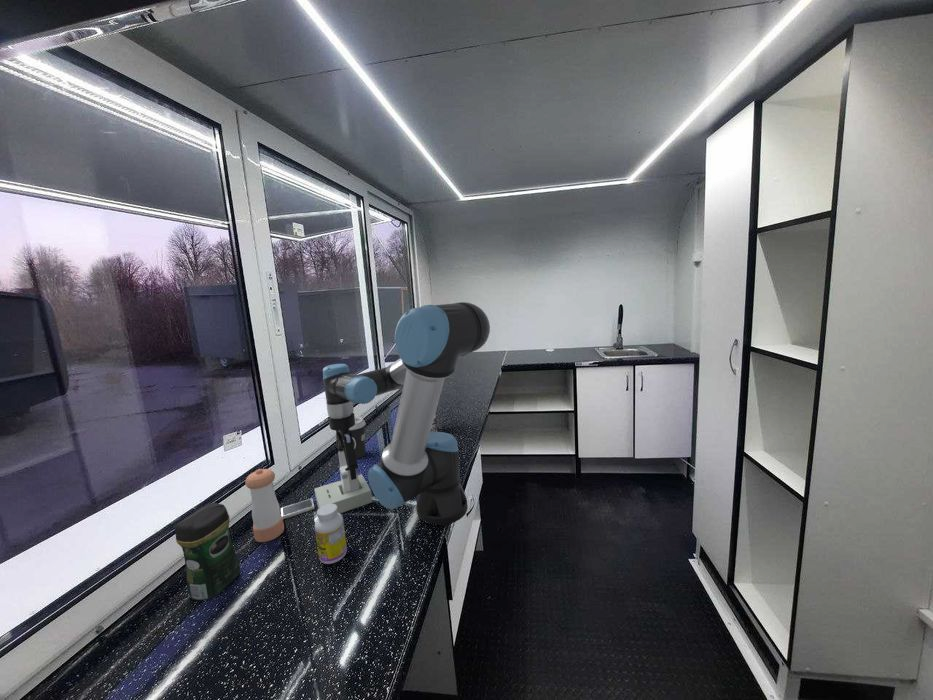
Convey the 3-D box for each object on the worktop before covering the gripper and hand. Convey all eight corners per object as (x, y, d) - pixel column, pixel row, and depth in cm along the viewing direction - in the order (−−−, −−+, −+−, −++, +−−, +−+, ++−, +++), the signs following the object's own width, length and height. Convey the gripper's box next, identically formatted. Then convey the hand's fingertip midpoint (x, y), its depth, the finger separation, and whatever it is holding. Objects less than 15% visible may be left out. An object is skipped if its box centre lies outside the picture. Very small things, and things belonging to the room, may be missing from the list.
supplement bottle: (315, 555, 89) (308, 508, 86) (341, 541, 93) (335, 497, 91) (324, 570, 83) (317, 521, 81) (351, 555, 88) (345, 509, 85)
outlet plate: (321, 519, 102) (319, 507, 102) (315, 499, 113) (314, 488, 112) (372, 502, 110) (371, 490, 109) (362, 484, 120) (361, 473, 119)
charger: (360, 497, 111) (356, 468, 110) (345, 502, 109) (342, 473, 108) (357, 491, 115) (353, 463, 114) (342, 496, 113) (339, 467, 111)
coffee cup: (365, 460, 137) (360, 424, 135) (340, 461, 138) (336, 425, 135) (371, 449, 147) (368, 415, 144) (349, 450, 147) (345, 416, 145)
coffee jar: (220, 566, 87) (207, 497, 83) (247, 570, 85) (234, 500, 82) (181, 600, 77) (164, 524, 74) (209, 605, 75) (193, 528, 72)
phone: (314, 508, 108) (314, 505, 108) (281, 519, 104) (281, 516, 103) (312, 501, 112) (312, 497, 112) (281, 511, 108) (280, 507, 108)
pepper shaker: (251, 545, 94) (238, 479, 90) (259, 527, 100) (248, 465, 97) (280, 538, 95) (270, 473, 92) (286, 522, 102) (277, 461, 99)
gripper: (363, 423, 99) (371, 492, 102) (345, 401, 120) (352, 459, 124) (336, 430, 95) (345, 501, 99) (322, 406, 116) (330, 465, 120)
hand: (349, 478), depth 111 cm, fingers open, 13 cm apart
